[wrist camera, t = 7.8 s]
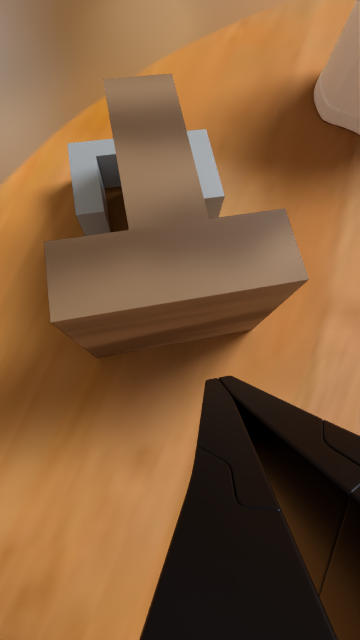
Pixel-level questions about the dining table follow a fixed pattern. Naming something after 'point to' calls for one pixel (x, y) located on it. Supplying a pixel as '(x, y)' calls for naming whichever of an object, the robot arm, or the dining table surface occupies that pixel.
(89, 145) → the stop bracket
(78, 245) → the tee block
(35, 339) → the dining table surface
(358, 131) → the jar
